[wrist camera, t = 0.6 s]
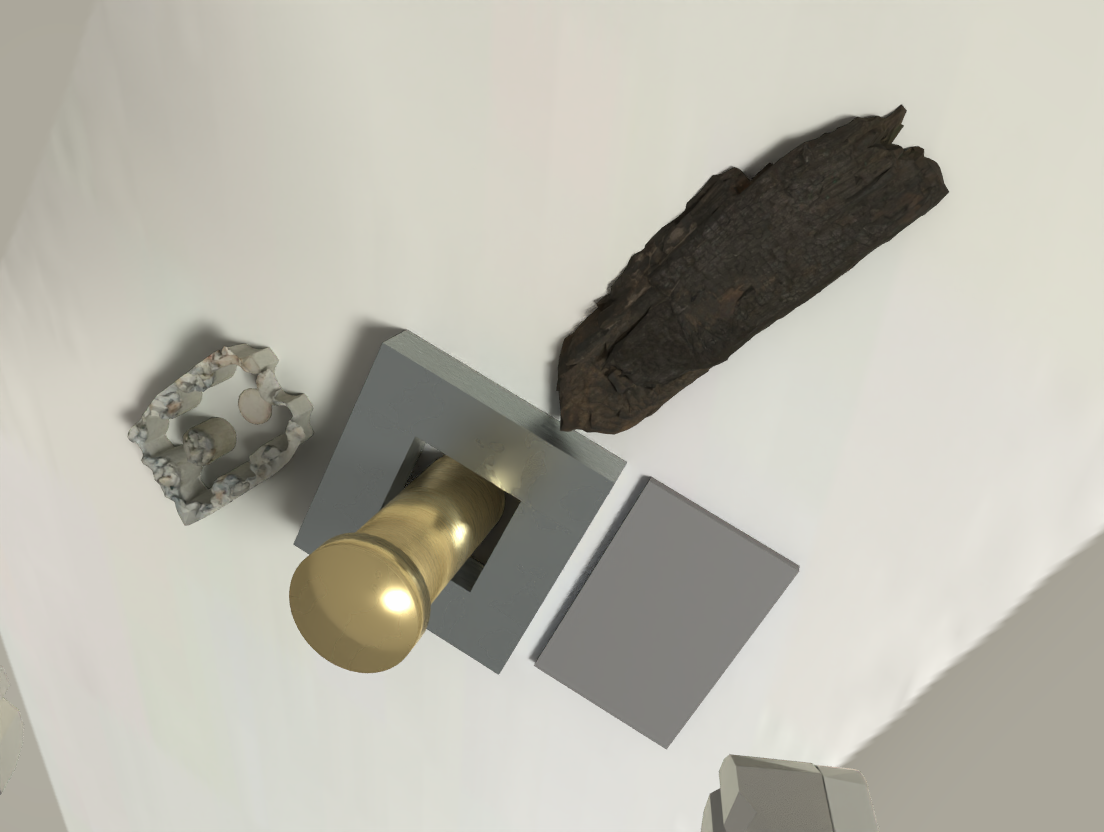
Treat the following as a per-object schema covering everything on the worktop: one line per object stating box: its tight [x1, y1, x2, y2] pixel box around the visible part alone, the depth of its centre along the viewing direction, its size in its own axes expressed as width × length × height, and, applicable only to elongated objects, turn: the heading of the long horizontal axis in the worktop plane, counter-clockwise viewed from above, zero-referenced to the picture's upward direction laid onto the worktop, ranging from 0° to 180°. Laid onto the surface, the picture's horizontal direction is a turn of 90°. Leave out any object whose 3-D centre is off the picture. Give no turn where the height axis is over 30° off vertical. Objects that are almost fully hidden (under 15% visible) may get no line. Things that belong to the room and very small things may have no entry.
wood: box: [556, 105, 949, 435], centre depth 45 cm, size 22×7×3 cm, turn 131°
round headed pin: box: [289, 455, 505, 673], centre depth 48 cm, size 6×6×14 cm
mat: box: [534, 477, 799, 749], centre depth 52 cm, size 14×9×1 cm, turn 153°
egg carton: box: [128, 344, 314, 526], centre depth 55 cm, size 11×8×4 cm
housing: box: [294, 330, 627, 675], centre depth 52 cm, size 14×14×3 cm
